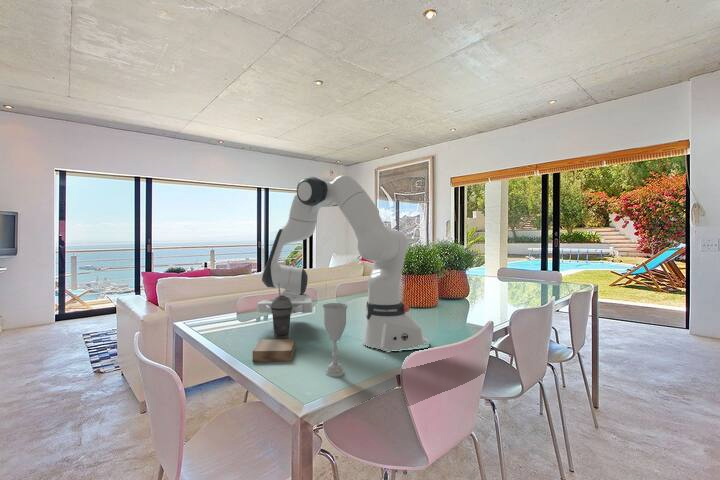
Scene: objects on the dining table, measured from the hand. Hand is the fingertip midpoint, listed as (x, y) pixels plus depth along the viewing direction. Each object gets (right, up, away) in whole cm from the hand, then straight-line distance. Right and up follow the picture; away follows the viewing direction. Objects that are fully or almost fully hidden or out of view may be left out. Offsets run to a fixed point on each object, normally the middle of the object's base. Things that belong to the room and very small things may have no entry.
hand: (283, 310), depth 122 cm
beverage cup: (0, -10, -3) cm, 10 cm away
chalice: (+21, -11, -30) cm, 38 cm away
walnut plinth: (+1, -10, -17) cm, 19 cm away
